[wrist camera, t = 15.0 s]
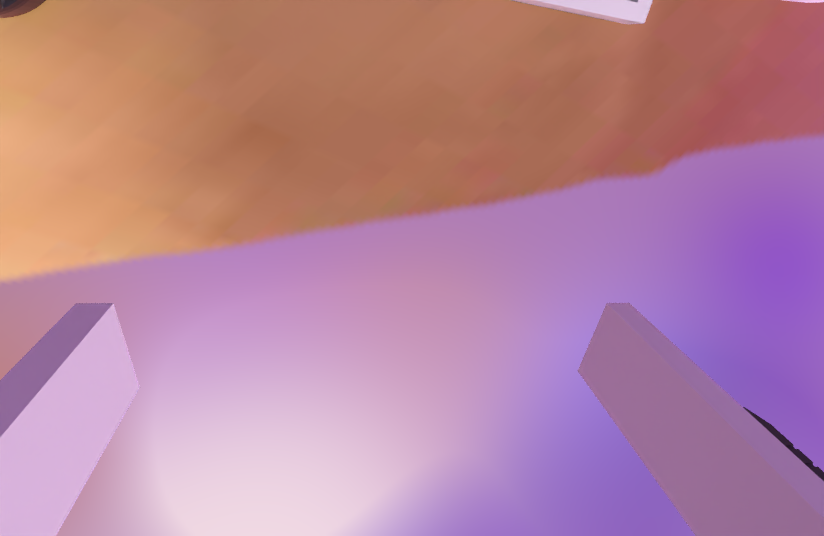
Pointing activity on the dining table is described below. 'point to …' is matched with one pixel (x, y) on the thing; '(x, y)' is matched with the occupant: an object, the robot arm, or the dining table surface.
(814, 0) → the bottle
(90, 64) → the dining table surface
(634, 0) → the tray
